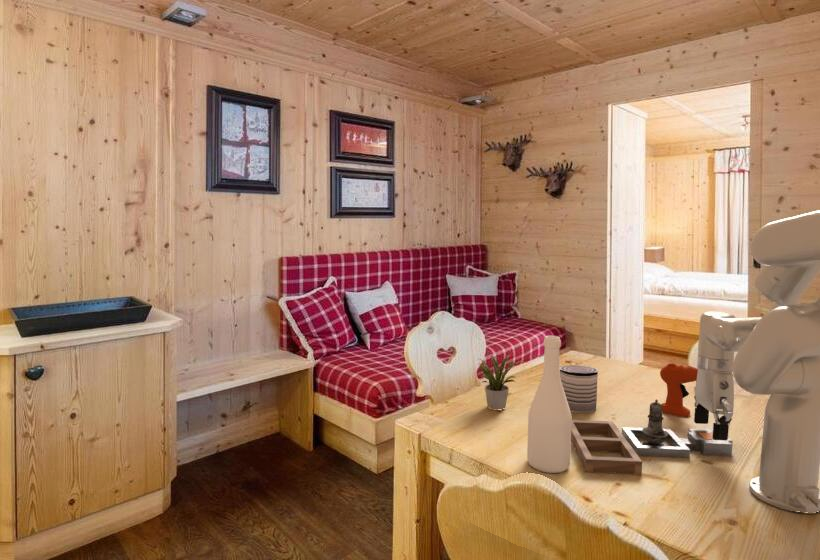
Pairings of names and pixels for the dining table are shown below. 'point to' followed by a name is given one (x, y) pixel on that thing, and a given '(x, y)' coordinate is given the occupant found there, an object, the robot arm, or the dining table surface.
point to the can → (580, 387)
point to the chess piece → (655, 426)
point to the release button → (706, 436)
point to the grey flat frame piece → (678, 444)
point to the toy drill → (677, 388)
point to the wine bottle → (550, 417)
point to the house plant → (497, 383)
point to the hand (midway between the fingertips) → (710, 431)
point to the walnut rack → (604, 448)
